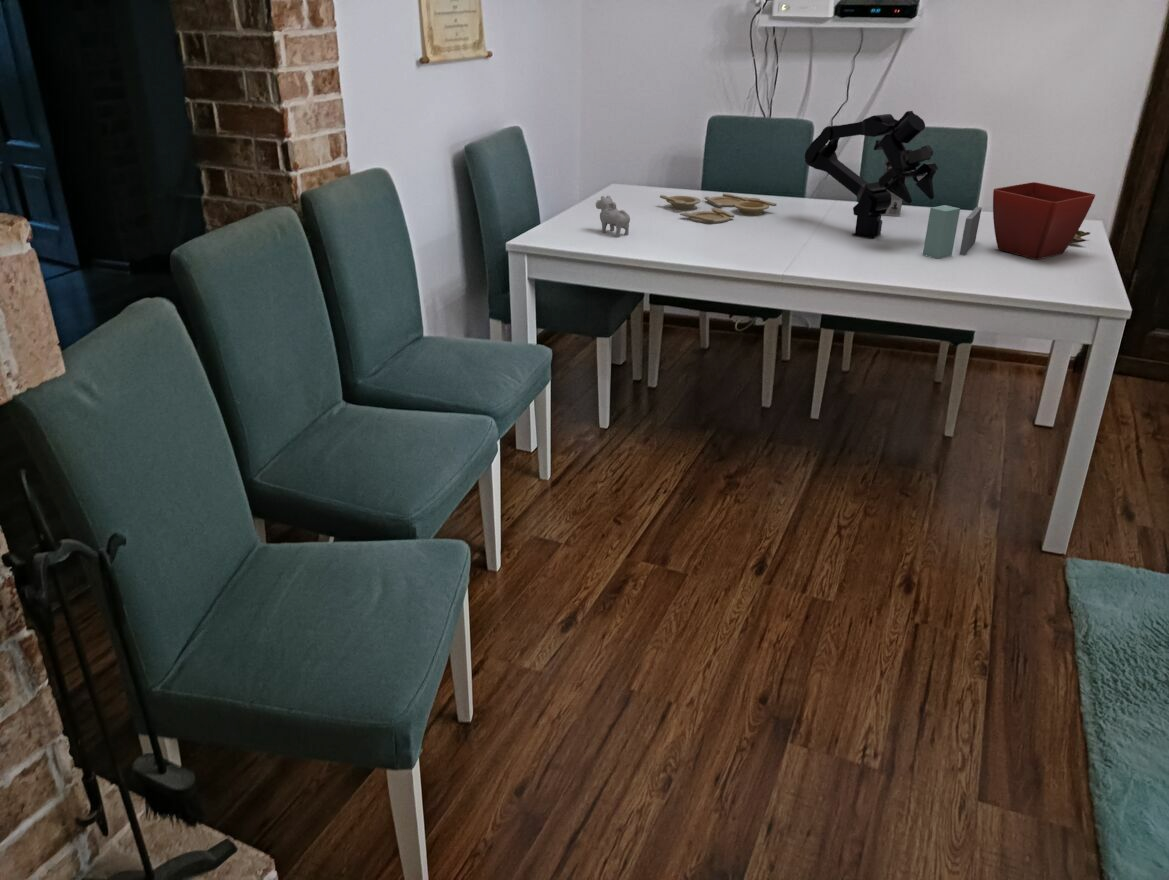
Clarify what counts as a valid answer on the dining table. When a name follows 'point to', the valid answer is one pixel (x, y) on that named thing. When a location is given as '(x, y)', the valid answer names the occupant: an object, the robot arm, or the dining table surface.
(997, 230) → the plant pot
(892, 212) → the coffee box
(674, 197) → the tableware set
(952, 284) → the dining table surface
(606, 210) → the dog figurine
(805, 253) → the dining table surface
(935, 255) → the cabinet box
